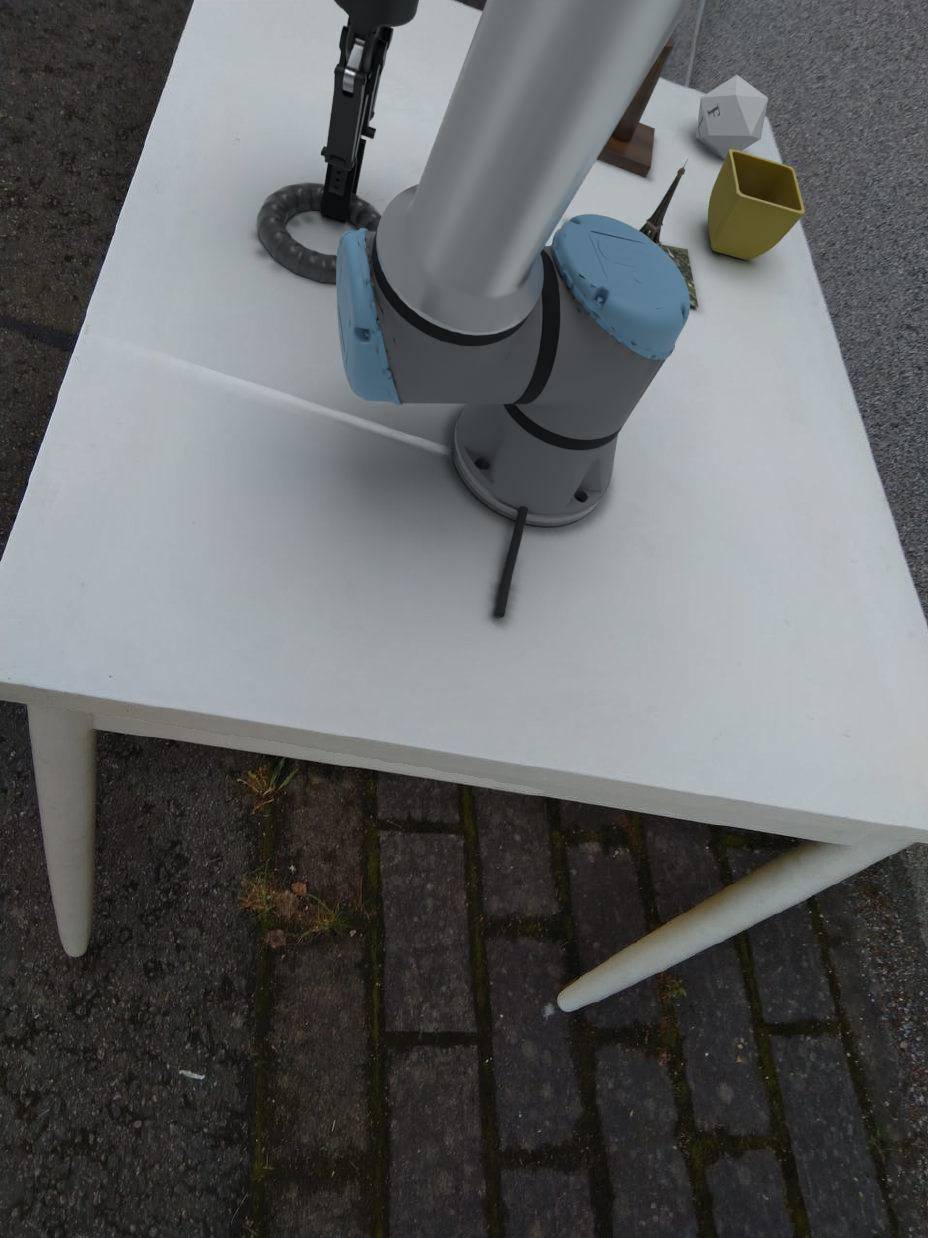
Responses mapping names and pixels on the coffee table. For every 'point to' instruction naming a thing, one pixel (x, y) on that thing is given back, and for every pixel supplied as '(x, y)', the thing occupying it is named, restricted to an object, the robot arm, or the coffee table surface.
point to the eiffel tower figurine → (674, 253)
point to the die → (731, 116)
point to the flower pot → (752, 205)
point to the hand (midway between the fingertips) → (338, 204)
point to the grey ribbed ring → (292, 251)
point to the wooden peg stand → (636, 125)
